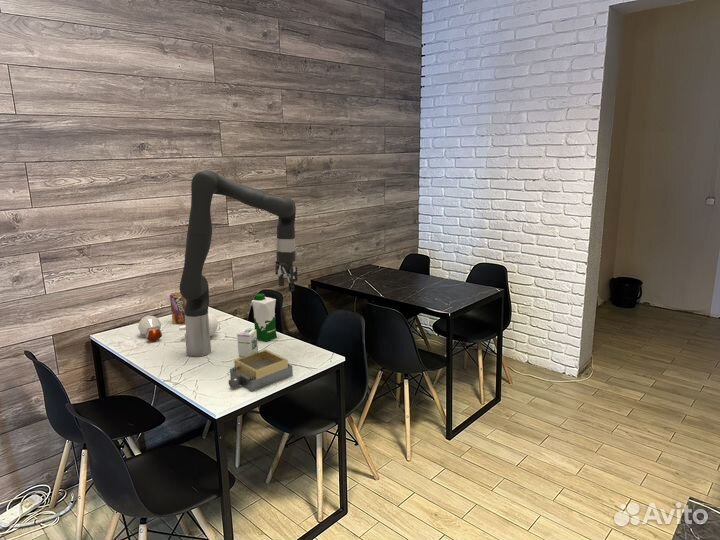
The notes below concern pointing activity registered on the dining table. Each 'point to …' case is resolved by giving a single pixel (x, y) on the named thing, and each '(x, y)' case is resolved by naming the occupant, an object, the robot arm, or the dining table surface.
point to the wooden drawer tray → (259, 370)
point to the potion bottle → (150, 328)
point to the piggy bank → (212, 324)
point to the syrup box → (247, 342)
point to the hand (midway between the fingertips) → (286, 288)
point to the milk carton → (264, 317)
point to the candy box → (177, 308)
